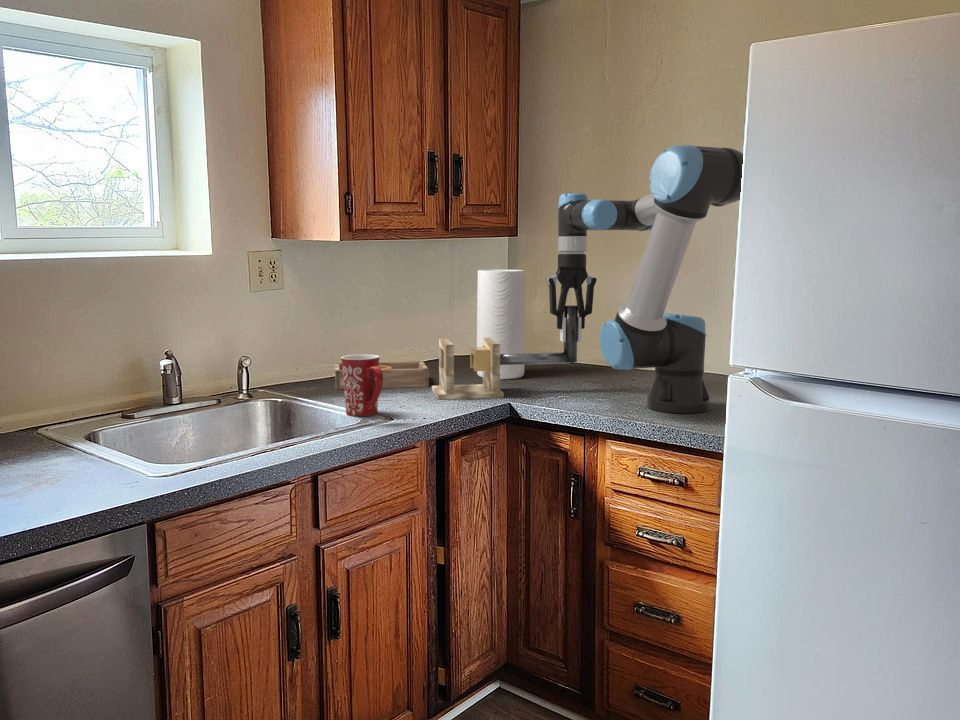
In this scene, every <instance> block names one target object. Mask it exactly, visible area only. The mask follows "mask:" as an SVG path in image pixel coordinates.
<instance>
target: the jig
mask: <svg viewBox="0 0 960 720" xmlns="http://www.w3.org/2000/svg"><path fill="white" fill-rule="evenodd" d="M483 347H486V348H488V349H489V350H490V371H483V378H482V384H478V383H477V384H455V379H454V378H455V361H454V360H455V357H454V356H455V355H454V354H455V349H454V348H455V345H454V343H452V342H451V341H450V340H448V338H438V381H439V382H438V385H431V391H432V392H433V395H435V397H436V399H437V400H467V399H470V400H473V399H501V398H502V399H503V398H504V397H505V396H504V395H505V394H504V392H503V391H502V390H501V380H500V343H498V342H496V341H495V340H493V339H491V338H483Z"/></svg>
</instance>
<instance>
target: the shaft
mask: <svg viewBox="0 0 960 720" xmlns="http://www.w3.org/2000/svg"><path fill="white" fill-rule="evenodd" d="M578 316H579V314H578V306H577V305H574V304H572V305H571V304H570V305H567V304H565V309H564V314H563V317H566V342H563V352H525V353H511V354H500V365H524V364H525V365H555V364H556V365H561V364H571V363H577V362H578V341H577V326H578Z"/></svg>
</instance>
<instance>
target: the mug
mask: <svg viewBox="0 0 960 720" xmlns="http://www.w3.org/2000/svg"><path fill="white" fill-rule="evenodd" d="M380 358H381V356H380V355H378V354H377V355H376V354H363V353H362V354H347V355H343V356H341V357H340V360H341V363H342V369H343V381H344V389H343V390H344V391H343V393H344V399H345V400H344V403H345V413H346V415H347V416H349V417H369V416H370V417H371V416H375V415H377V414H378V410H379V409H378V408H379V407H378V405H379V404H378V401H379V397H380V395H381V392H382V390H383V388H382V386H383V374H382V370H381V369H380V368H379V362H380Z"/></svg>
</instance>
